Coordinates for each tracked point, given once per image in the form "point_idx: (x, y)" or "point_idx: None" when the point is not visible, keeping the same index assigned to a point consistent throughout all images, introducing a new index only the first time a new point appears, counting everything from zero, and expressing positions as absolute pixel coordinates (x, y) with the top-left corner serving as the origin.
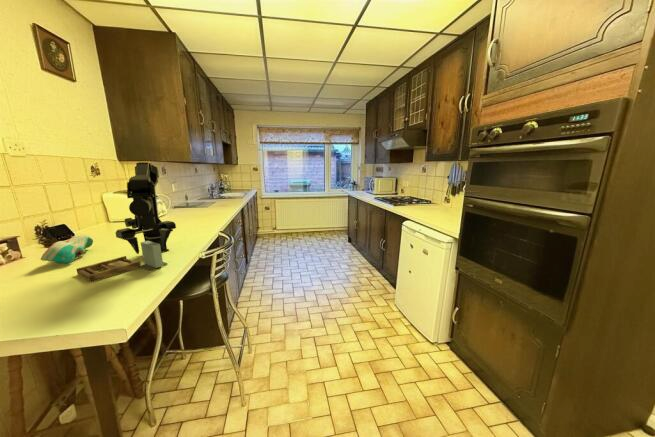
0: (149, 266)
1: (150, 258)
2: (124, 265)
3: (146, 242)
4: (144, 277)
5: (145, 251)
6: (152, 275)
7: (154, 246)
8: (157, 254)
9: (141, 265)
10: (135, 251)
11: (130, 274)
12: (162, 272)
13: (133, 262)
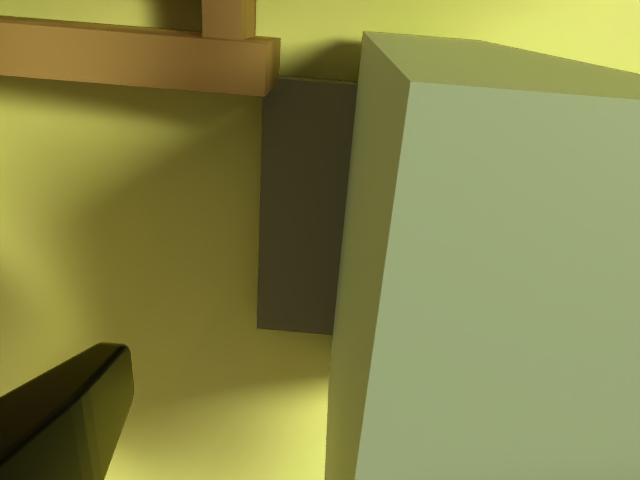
0: (319, 251)
1: (338, 338)
2: (20, 56)
3: (500, 394)
4: (149, 435)
5: (353, 259)
6: (216, 455)
7: None
8: None
9: (287, 93)
10: (52, 384)
11: (86, 232)
12: (308, 472)
13: (176, 44)
